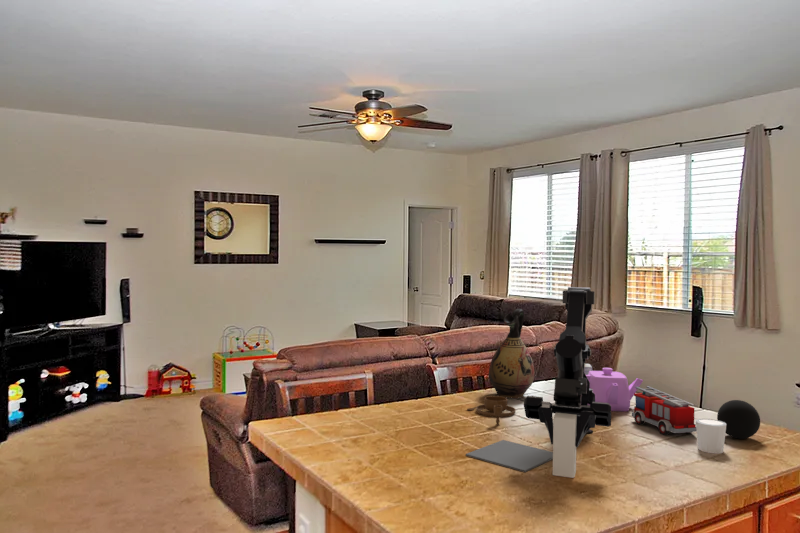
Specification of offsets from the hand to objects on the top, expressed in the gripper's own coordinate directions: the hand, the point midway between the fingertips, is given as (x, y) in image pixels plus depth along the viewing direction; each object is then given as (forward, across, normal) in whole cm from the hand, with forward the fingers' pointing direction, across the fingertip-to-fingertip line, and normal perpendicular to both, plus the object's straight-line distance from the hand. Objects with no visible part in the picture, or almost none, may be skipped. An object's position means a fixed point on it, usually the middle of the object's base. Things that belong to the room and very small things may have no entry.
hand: (564, 444), depth 130 cm
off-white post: (+4, 0, +6) cm, 7 cm away
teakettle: (-45, +7, +55) cm, 72 cm away
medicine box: (-64, -2, +74) cm, 97 cm away
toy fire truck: (-30, +22, +40) cm, 55 cm away
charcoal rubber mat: (-2, -12, +11) cm, 17 cm away
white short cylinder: (-18, +32, +28) cm, 47 cm away
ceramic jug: (-48, -24, +57) cm, 79 cm away
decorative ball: (-29, +40, +38) cm, 63 cm away
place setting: (-26, -26, +37) cm, 52 cm away
